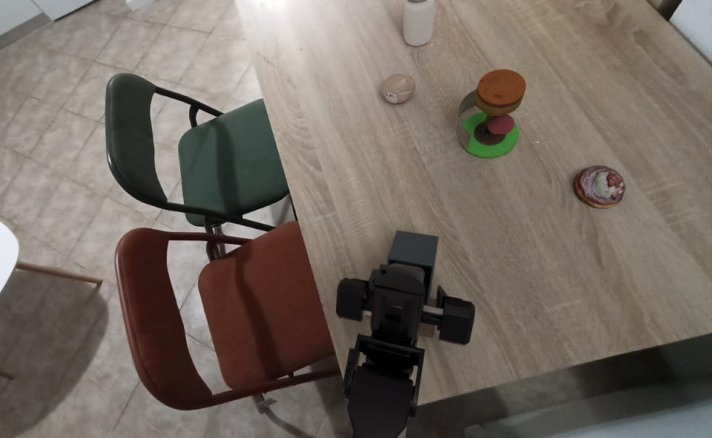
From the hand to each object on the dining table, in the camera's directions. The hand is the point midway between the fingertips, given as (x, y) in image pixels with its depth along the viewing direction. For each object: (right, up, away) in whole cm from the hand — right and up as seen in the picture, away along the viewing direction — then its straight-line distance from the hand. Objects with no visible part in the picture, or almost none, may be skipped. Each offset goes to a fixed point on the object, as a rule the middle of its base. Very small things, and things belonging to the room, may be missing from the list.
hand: (408, 282), depth 70 cm
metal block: (+2, -7, +8) cm, 11 cm away
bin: (+4, -1, +10) cm, 11 cm away
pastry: (+36, +15, +7) cm, 39 cm away
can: (+12, +52, +31) cm, 62 cm away
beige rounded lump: (+6, +37, +26) cm, 46 cm away
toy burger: (+21, +27, +17) cm, 38 cm away
